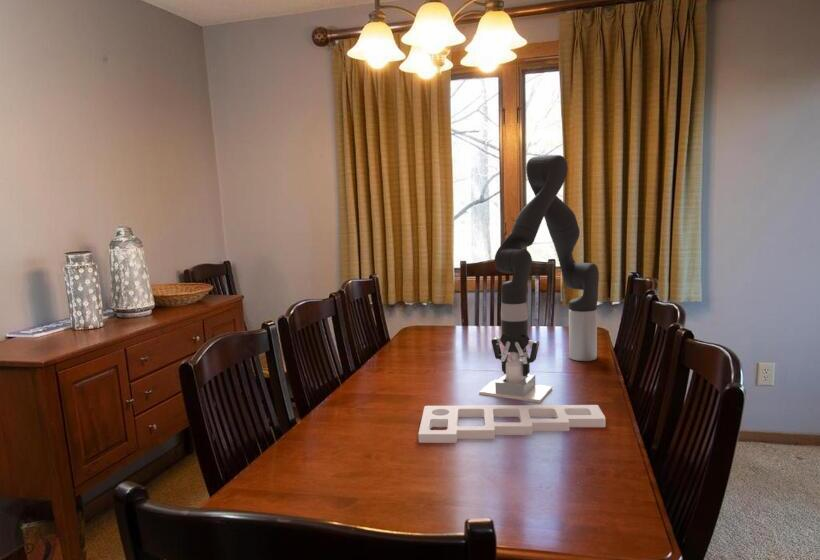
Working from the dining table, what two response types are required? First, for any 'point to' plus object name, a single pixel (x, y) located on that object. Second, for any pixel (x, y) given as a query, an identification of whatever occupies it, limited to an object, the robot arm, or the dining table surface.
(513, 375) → the eye dropper bottle
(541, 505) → the dining table surface
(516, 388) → the holder stand
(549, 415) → the holder
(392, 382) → the dining table surface
